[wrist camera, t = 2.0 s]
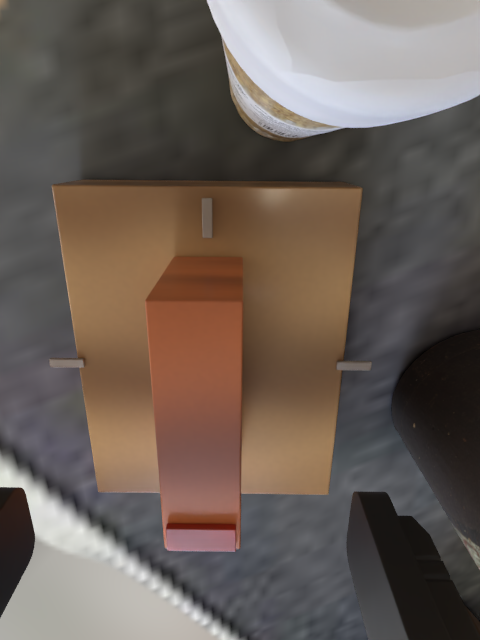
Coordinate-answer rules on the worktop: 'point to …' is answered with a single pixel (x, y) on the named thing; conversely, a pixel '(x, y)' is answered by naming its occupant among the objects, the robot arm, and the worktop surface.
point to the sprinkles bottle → (347, 61)
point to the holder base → (258, 315)
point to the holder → (198, 400)
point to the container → (446, 428)
